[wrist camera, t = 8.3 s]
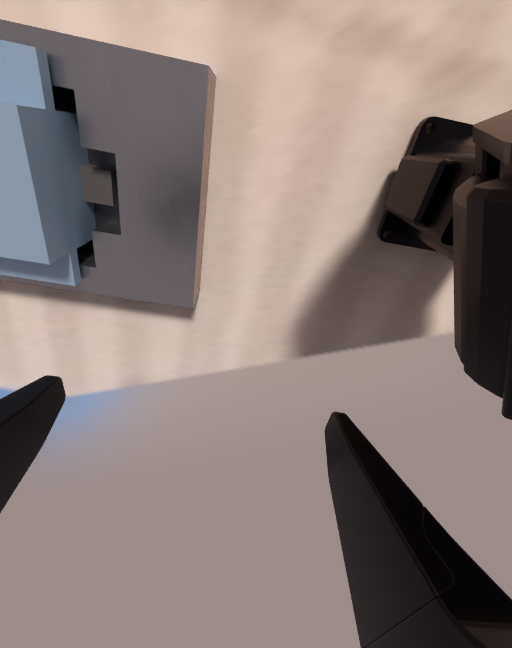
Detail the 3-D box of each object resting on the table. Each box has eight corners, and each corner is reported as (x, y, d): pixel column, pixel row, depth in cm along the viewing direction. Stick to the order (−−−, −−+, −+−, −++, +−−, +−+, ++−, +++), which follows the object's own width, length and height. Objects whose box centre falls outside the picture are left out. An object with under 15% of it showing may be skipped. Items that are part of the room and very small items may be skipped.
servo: (111, 72, 14) (50, 43, 10) (124, 269, 20) (88, 304, 16) (-19, 44, 14) (-141, 1, 10) (31, 254, 19) (-33, 287, 15)
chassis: (216, 76, 15) (208, 65, 12) (199, 291, 21) (192, 308, 19) (-138, -2, 13) (-213, -28, 11) (-42, 254, 20) (-78, 268, 17)
